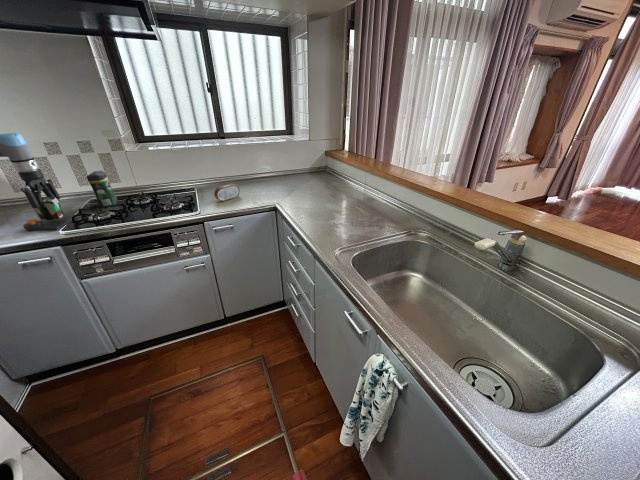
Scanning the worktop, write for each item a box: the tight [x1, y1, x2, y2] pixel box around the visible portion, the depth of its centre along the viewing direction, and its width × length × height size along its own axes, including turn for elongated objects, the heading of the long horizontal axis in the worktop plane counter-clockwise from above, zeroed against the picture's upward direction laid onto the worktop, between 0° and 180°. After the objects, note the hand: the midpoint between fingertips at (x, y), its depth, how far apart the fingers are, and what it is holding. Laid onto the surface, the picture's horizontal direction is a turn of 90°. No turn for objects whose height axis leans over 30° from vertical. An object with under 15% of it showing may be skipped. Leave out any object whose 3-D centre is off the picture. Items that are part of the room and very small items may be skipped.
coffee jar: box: [86, 170, 118, 208], centre depth 148 cm, size 10×8×19 cm
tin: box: [213, 183, 241, 202], centre depth 155 cm, size 15×3×8 cm, turn 136°
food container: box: [27, 195, 64, 221], centre depth 129 cm, size 12×6×10 cm, turn 90°
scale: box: [22, 214, 76, 232], centre depth 130 cm, size 15×15×3 cm
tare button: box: [25, 219, 37, 225], centre depth 125 cm, size 3×3×2 cm
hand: (55, 216), depth 131 cm, fingers closed on food container, 5 cm apart
